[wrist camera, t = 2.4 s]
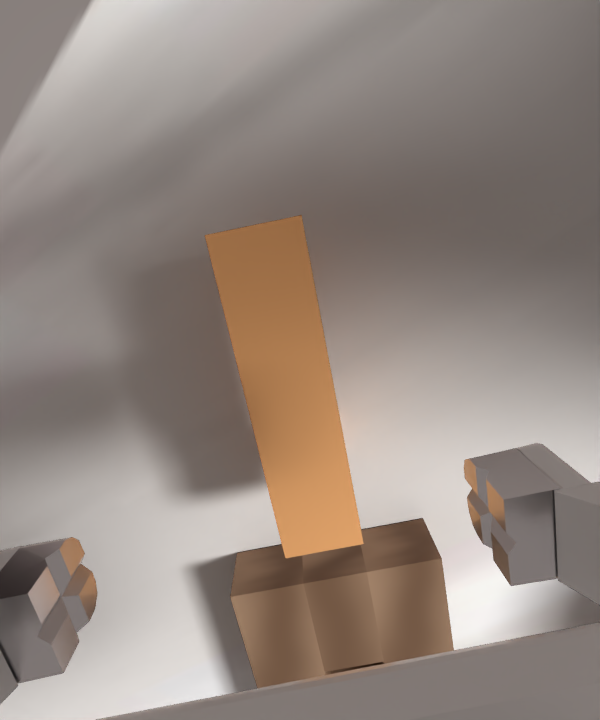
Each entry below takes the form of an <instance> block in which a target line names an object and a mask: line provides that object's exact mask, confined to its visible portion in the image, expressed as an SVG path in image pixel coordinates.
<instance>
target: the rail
mask: <svg viewBox="0 0 600 720" xmlns="http://www.w3.org/2000/svg"><path fill="white" fill-rule="evenodd" d="M361 533H362V538H363V543H364V544H361V545H356V546H350V547H345V548H339V549H334V550H328V551H323V552H318V553H312V554H307V555H301V556H296V557H291V558H285V555H284V551H283V547H282V545H277V546H272V547H266V548H261V549H256V550H250V551H245V552H239V553H237V557H236V564H235V570H234V576H233V582H232V589H231V595H230V598H231V601H232V605H233V608H234V611H235V615H236V618H237V621H238V625H239V628H240V631H241V635H242V638H243V641H244V645H245V648H246V651H247V655H248V658H249V661H250V665H251V668H252V671H253V675H254V678H255V681H256V685H257V688H262V687H267V686H272V685H277V684H282V683H288V682H293V681H298V680H303V679H308V678H313V677H318V676H324V675H329V674H334V673H339V672H344V671H350V670H355V669H360V668H365V667H370V666H375V665H381V664H386V663H391V662H396V661H401V660H407V659H412V658H417V657H422V656H427V655H433V654H438V653H443V652H448V651H453V650H454V649H453V641H452V634H451V626H450V619H449V611H448V603H447V596H446V588H445V581H444V573H443V566H442V558H441V556H440V554H439V552H438V550H437V548H436V545H435V543H434V541H433V539H432V537H431V535H430V533H429V530H428V528H427V526H426V524H425V522H424V520H423V519H417V520H412V521H406V522H401V523H396V524H390V525H385V526H379V527H374V528H369V529H363V530H361Z"/></svg>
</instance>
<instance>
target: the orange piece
mask: <svg viewBox="0 0 600 720" xmlns="http://www.w3.org/2000/svg"><path fill="white" fill-rule="evenodd" d="M205 239H206V243H207V247H208V251H209V255H210V259H211V263H212V267H213V271H214V275H215V279H216V283H217V287H218V291H219V295H220V299H221V303H222V307H223V311H224V315H225V319H226V323H227V327H228V331H229V335H230V339H231V343H232V347H233V351H234V355H235V359H236V363H237V367H238V371H239V375H240V379H241V383H242V387H243V391H244V395H245V399H246V403H247V407H248V411H249V415H250V419H251V423H252V427H253V431H254V435H255V439H256V443H257V447H258V451H259V455H260V459H261V463H262V467H263V471H264V475H265V479H266V483H267V487H268V491H269V495H270V499H271V503H272V507H273V511H274V515H275V519H276V523H277V527H278V531H279V535H280V539H281V543H282V547H283V551H284V555H285V558H291V557H296V556H301V555H307V554H312V553H318V552H323V551H328V550H334V549H339V548H345V547H350V546H356V545H361V544H364V543H363V538H362V533H361V527H360V522H359V517H358V511H357V506H356V501H355V496H354V490H353V485H352V480H351V474H350V469H349V464H348V459H347V453H346V448H345V443H344V437H343V432H342V427H341V422H340V416H339V411H338V406H337V400H336V395H335V390H334V385H333V379H332V374H331V369H330V363H329V358H328V353H327V348H326V342H325V337H324V332H323V326H322V321H321V316H320V311H319V305H318V300H317V295H316V289H315V284H314V279H313V274H312V268H311V263H310V258H309V252H308V247H307V242H306V237H305V231H304V226H303V221H302V215H299V216H294V217H290V218H285V219H280V220H275V221H270V222H266V223H261V224H256V225H251V226H246V227H242V228H237V229H232V230H227V231H223V232H218V233H213V234H208V235H205Z"/></svg>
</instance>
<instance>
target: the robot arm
mask: <svg viewBox="0 0 600 720" xmlns="http://www.w3.org/2000/svg"><path fill="white" fill-rule="evenodd" d="M464 473H465V479H466V480H467V482H468V483H469V484H470V486H471V487H472V490H471V491H470V493H469V495H468V496H467V501H468V508H469V513H470V517H471V520H472V523H473V526H474V528H475V531H476V533H477V535H478V536H479V538H480V540H481V541H482V543H483V544H484V545H486V546H488V547H490V548H492V549H493V559H494V561H495V563H496V564H497V566H498V567H499V569H500V570H501V572H502V573H503V575H504V576H505V578H506V579H507V581H508V582H509V584H510V585H511V586H514V585H520V584H526V583H532V582H538V581H544V580H550V579H556V578H558V581H560V582H562V583H563V584H565V585H567V586H568V587H570V588H572V589H573V590H575V591H577V592H578V593H580V594H582V595H583V596H585V597H587V598H588V599H590V600H592V601H593V602H595V603H597V604H598V605H600V482H594V483H591V482H589V481H588V480H587V479H586V478H584V477H583V476H582V475H581V474H579V473H578V472H577V471H576V470H574V469H573V468H572V467H570V466H569V465H568V464H567V463H565V462H564V461H563V460H562V459H560V458H559V457H558V456H557V455H555V454H554V453H553V452H552V451H550V450H549V449H548V448H547V447H545V446H544V445H543V444H539V443H535V444H531V445H526V446H522V447H518V448H514V449H510V450H505V451H501V452H497V453H492V454H488V455H483V456H479V457H474V458H470V459H466V460H465V462H464ZM84 555H85V553H84V551H83V549H82V546H81V544H80V542H79V540H77V539H75V538H73V537H70V538H64V539H59V540H53V541H47V542H42V543H36V544H30V545H26V546H19V547H14V548H9V549H5V550H2V551H0V704H1V703H2V702H3V701H4V700H5V699H6V698H7V697H8V696H9V695H10V694H11V693H12V692H13V691H14V690H15V689H16V688H17V687H18V683H22V682H27V681H31V680H35V679H40V678H44V677H49V676H53V675H57V674H62V673H64V671H65V669H66V667H67V665H68V663H69V661H70V659H71V657H72V655H73V653H74V651H75V649H76V647H77V645H78V643H79V638H78V635H77V632H78V631H79V630H80V629H81V628H82V627H84V626H85V625H86V624H87V623H88V622H89V621H90V619H91V616H92V614H93V612H94V610H95V606H96V599H97V588H96V581H95V579H94V576H93V573H92V571H90V570H89V569H88V568H86V567H85V566H83V565H82V564H81V563H82V560H83V557H84ZM96 720H600V622H598V623H593V624H588V625H583V626H578V627H573V628H568V629H562V630H557V631H552V632H547V633H542V634H536V635H531V636H526V637H521V638H516V639H511V640H505V641H500V642H495V643H490V644H485V645H479V646H474V647H469V648H464V649H459V650H453V651H448V652H443V653H438V654H433V655H427V656H422V657H417V658H412V659H407V660H401V661H396V662H391V663H386V664H381V665H375V666H370V667H365V668H360V669H355V670H350V671H344V672H339V673H334V674H329V675H324V676H318V677H313V678H308V679H303V680H298V681H293V682H288V683H282V684H277V685H272V686H267V687H262V688H257V689H252V690H247V691H242V692H236V693H231V694H226V695H221V696H216V697H211V698H205V699H200V700H195V701H190V702H185V703H180V704H174V705H169V706H164V707H159V708H154V709H148V710H143V711H138V712H133V713H128V714H122V715H117V716H112V717H107V718H102V719H96Z"/></svg>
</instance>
